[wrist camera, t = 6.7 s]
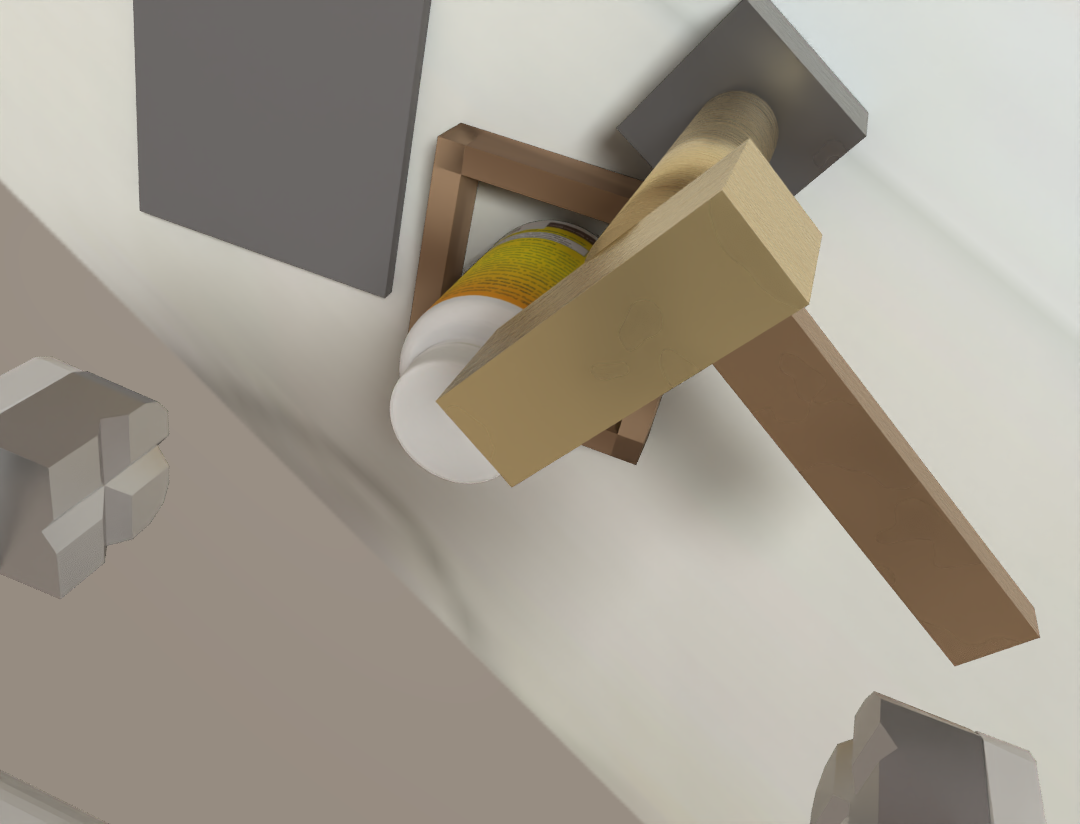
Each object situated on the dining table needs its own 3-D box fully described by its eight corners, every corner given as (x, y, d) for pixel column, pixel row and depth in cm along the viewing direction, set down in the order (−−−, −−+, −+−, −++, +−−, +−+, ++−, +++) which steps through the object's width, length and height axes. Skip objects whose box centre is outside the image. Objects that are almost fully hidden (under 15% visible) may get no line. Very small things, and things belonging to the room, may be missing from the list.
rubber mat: (391, 292, 37) (384, 297, 36) (149, 206, 38) (139, 210, 38) (431, -3, 30) (424, -1, 30) (141, -90, 32) (130, -90, 32)
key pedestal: (757, -15, 27) (745, -3, 25) (868, 112, 28) (866, 136, 26) (638, 106, 30) (616, 128, 28) (742, 219, 31) (729, 249, 28)
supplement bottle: (461, 258, 35) (324, 381, 26) (581, 186, 32) (471, 299, 24) (540, 378, 36) (435, 531, 28) (662, 321, 34) (585, 471, 25)
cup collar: (647, 438, 36) (636, 464, 34) (422, 356, 38) (401, 378, 36) (726, 208, 31) (717, 226, 29) (460, 122, 32) (437, 136, 31)
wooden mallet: (629, 165, 28) (427, 392, 16) (800, 26, 25) (713, 178, 12) (881, 487, 30) (874, 896, 18) (1066, 400, 27) (1208, 827, 15)
